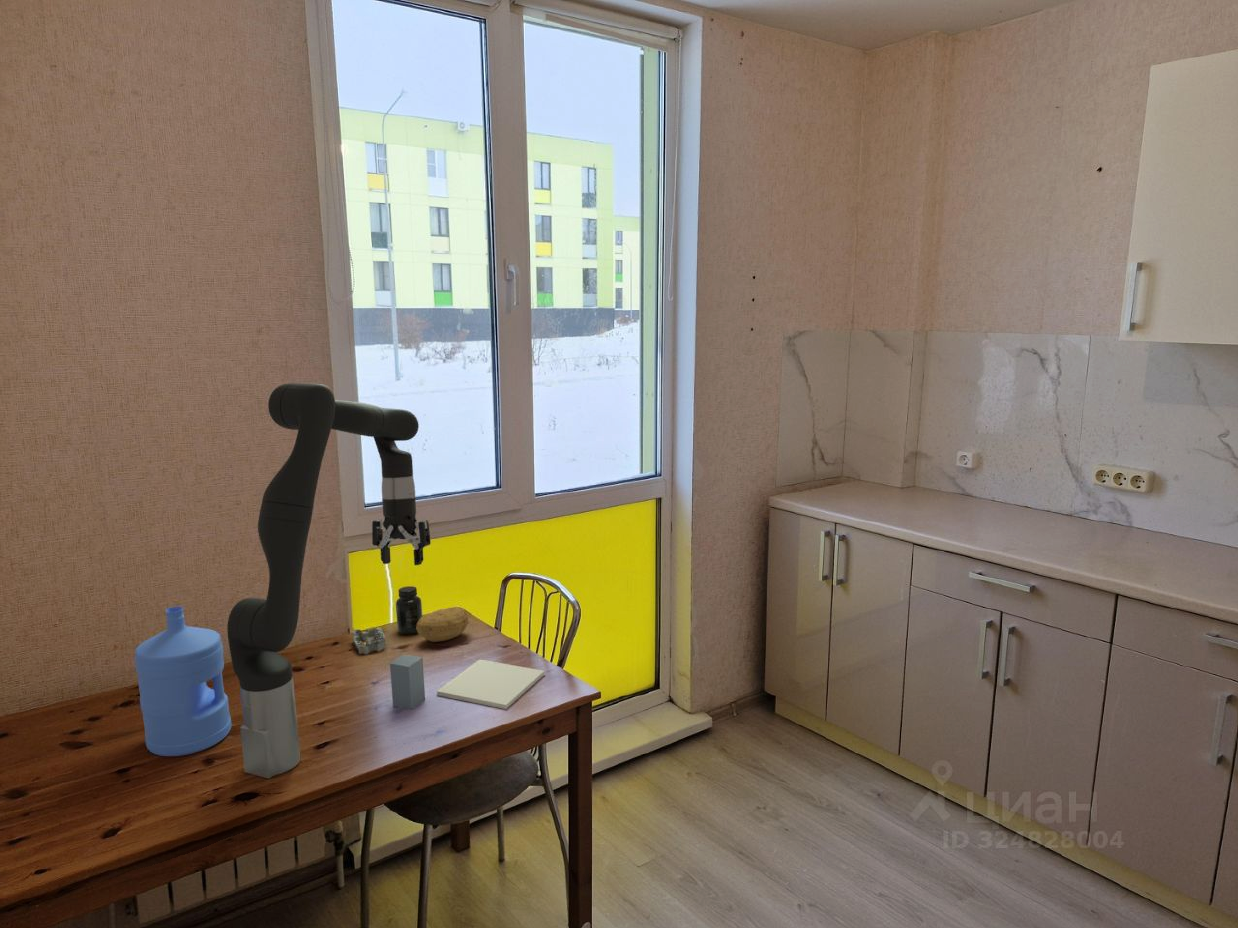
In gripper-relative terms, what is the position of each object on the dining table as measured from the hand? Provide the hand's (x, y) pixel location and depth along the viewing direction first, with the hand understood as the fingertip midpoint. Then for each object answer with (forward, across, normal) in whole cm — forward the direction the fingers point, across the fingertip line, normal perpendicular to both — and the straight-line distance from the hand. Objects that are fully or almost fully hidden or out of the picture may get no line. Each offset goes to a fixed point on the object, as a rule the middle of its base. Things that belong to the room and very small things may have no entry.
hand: (402, 564), depth 189 cm
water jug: (+30, -29, -37) cm, 55 cm away
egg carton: (+26, -20, +14) cm, 35 cm away
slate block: (+29, +7, -11) cm, 32 cm away
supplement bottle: (+24, -15, +25) cm, 38 cm away
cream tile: (+28, +21, +2) cm, 35 cm away
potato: (+25, -3, +22) cm, 34 cm away
